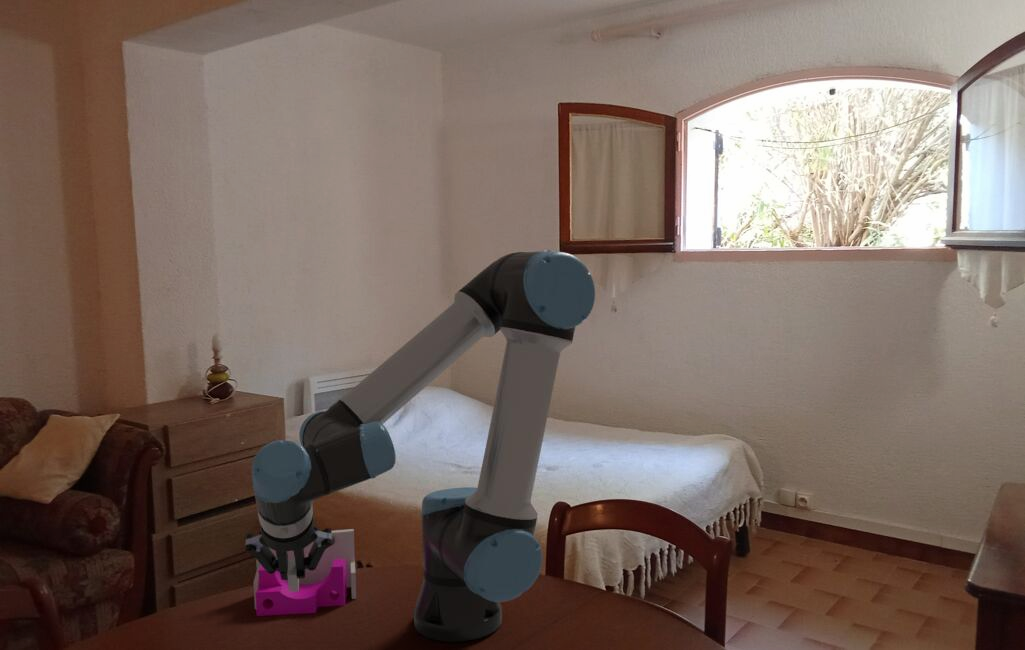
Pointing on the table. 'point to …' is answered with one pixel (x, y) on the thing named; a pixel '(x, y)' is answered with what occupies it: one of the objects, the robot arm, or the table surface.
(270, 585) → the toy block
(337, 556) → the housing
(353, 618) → the table surface
